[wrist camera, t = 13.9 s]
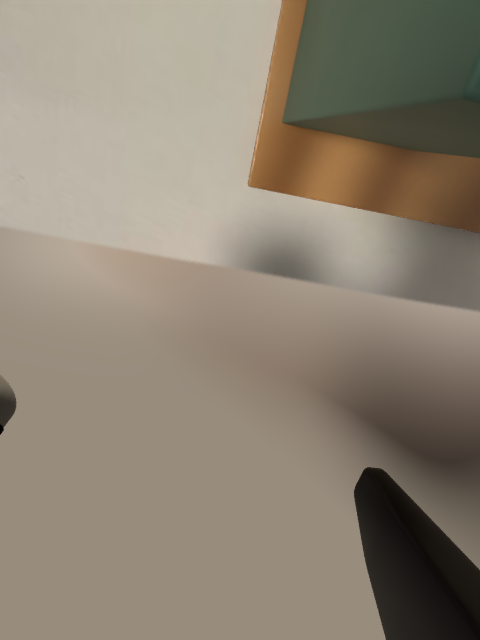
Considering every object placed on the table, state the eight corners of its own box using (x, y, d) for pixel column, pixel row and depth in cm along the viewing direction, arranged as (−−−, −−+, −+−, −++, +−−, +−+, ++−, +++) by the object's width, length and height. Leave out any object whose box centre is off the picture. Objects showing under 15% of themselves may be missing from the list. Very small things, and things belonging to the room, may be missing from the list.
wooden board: (247, 184, 17) (247, 186, 17) (301, -101, 13) (304, -112, 12) (498, 235, 19) (505, 238, 18) (630, -4, 14) (646, -9, 14)
